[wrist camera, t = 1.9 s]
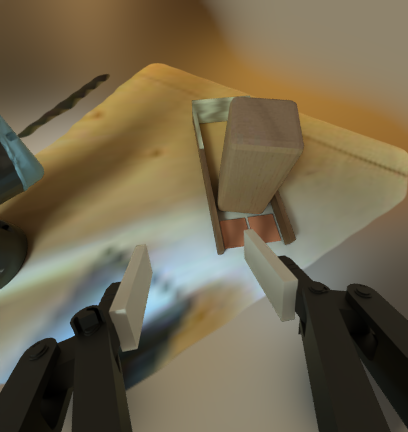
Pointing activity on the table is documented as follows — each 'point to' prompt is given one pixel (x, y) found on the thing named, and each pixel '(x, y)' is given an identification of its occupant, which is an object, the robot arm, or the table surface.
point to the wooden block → (257, 152)
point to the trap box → (230, 228)
